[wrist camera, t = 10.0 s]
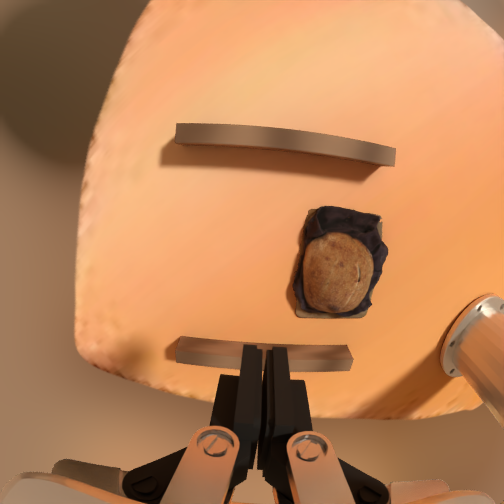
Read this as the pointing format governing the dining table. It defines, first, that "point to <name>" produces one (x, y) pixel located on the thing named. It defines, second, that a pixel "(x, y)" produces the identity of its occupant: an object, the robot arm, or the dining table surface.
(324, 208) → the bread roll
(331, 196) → the dining table surface
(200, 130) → the shelf lane
